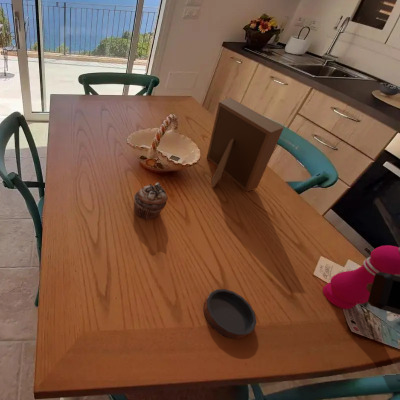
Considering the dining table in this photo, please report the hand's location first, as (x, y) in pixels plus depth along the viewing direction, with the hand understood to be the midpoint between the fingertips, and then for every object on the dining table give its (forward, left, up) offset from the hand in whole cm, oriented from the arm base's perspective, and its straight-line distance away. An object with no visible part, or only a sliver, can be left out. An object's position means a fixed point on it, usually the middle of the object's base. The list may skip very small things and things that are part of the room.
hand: (395, 294), depth 52 cm
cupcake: (+49, +20, -13) cm, 54 cm away
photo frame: (+53, -17, -13) cm, 57 cm away
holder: (+14, +24, -13) cm, 31 cm away
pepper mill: (+5, -5, -13) cm, 15 cm away
